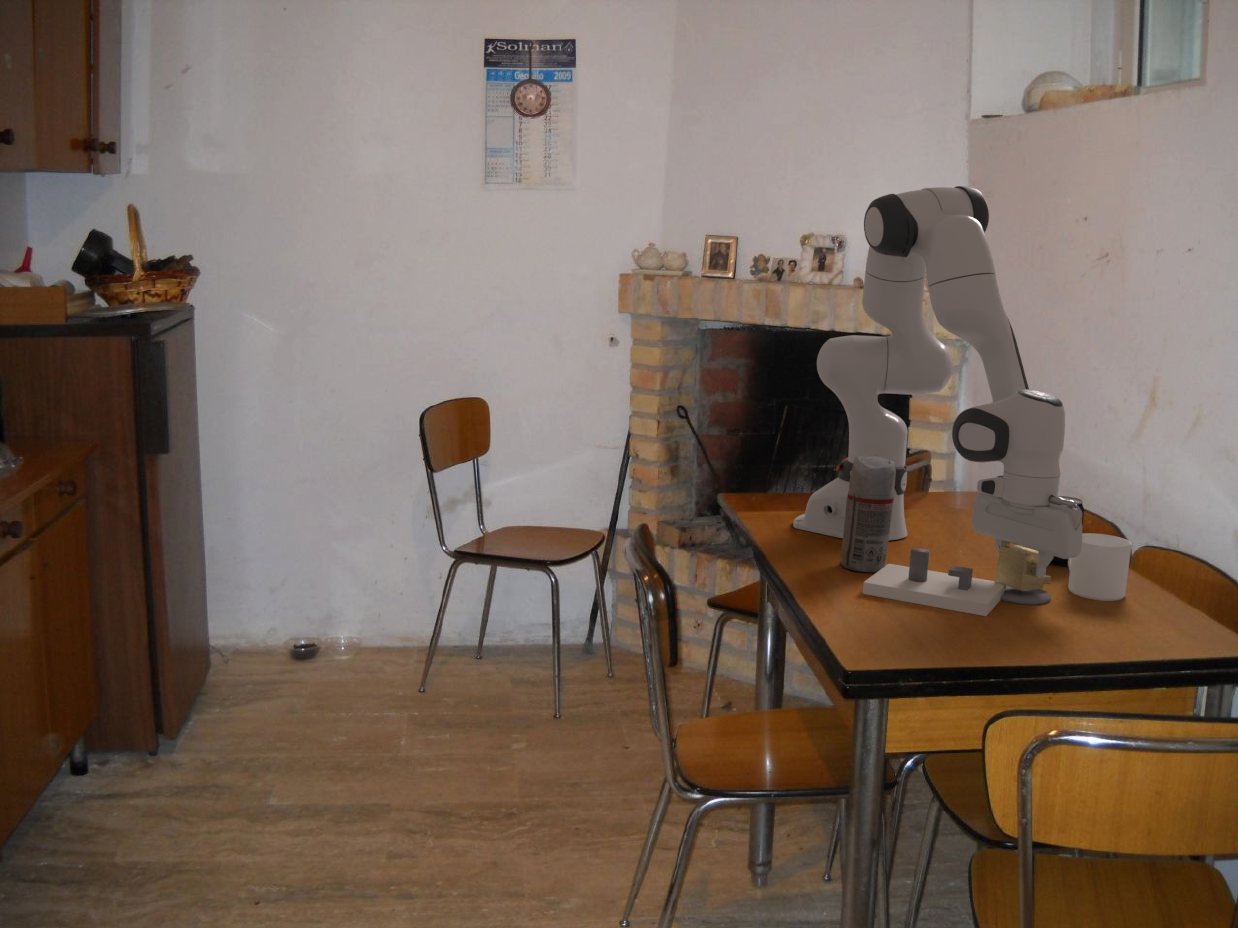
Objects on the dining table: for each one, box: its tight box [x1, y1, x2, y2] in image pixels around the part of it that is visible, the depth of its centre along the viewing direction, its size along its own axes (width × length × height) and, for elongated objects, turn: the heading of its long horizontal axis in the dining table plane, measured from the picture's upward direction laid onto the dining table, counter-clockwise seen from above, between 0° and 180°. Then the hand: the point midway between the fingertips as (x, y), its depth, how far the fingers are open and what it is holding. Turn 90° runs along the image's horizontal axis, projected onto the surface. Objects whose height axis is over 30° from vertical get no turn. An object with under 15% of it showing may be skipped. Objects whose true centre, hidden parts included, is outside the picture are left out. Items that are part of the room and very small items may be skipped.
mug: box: [1067, 532, 1132, 602], centre depth 204 cm, size 12×9×9 cm
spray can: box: [839, 454, 896, 573], centre depth 212 cm, size 8×8×20 cm
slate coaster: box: [1000, 586, 1052, 606], centre depth 200 cm, size 10×10×1 cm
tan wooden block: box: [994, 544, 1052, 590], centre depth 200 cm, size 9×5×6 cm, turn 120°
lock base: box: [862, 547, 1006, 617], centre depth 199 cm, size 20×14×7 cm
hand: (1021, 571), depth 200 cm, fingers closed on tan wooden block, 5 cm apart
